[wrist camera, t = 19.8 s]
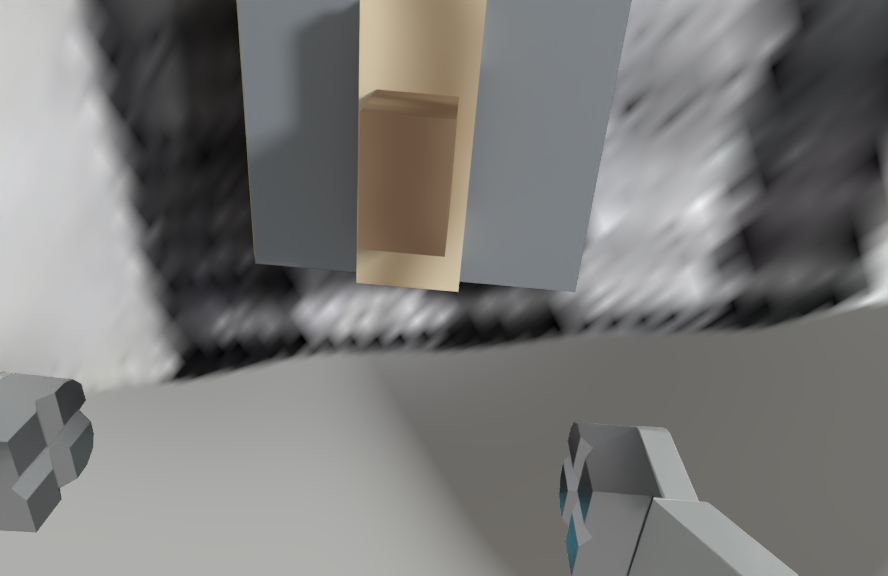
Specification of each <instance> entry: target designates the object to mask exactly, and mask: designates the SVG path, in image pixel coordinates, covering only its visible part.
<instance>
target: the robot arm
mask: <svg viewBox="0 0 888 576" xmlns="http://www.w3.org/2000/svg"><path fill="white" fill-rule="evenodd" d="M85 401H86V399H85V395H84V392H83V389H82V385H81V384H80V383H79V382H77V381H75V380H73V379H64V378H55V377H45V376H36V375H27V374H17V373H14V374H11V373H4V372H0V530H5V531H24V532H37V531H38V530H39V528H40V527H41V526H42V524H43V523H44V522H45V520H46V519H47V518H48V516H49V515H50V514H51V512H52V511H53V510H54V508H55V507H56V506H57V505H58V503H59V502H60V500H61V493H60V488H61V487H62V486H64V485H66V484H68V483H70V482H71V481H73V480H75V479H77V478H78V477H79V475H80V474H81V472H82V471H83V470H84V468H85V467H86V465H87V463H88V461H89V458H90V455H91V452H92V449H93V435H94V433H93V429H92V424H91V421H90V420H89V419H88V418H87V417H86V416H84V414H83V413H82V412H81V411H79V410H80V408H81V407H82V405H83V404H84V402H85ZM568 446H569V451H570V456H569V457H568V458H567V459H565V460H564V461H563V465H562V471H561V476H560V489H559V499H560V510H561V517H562V520H563V521H564V522H565V523H566V524H567V525H568V526H569V528H568V532H567V537H566V548H567V554H568V560H569V566H570V571H571V576H799V575H798V574H796V573H795V572H794V571H793V570H791V569H790V568H789V567H787V566H786V565H785V564H784V563H783V562H781V561H780V560H779V559H778V558H776V557H775V556H774V555H773V554H771V553H770V552H769V551H768V550H766V549H765V548H764V547H763V546H762V545H760V544H759V543H758V542H757V541H755V540H754V539H753V538H752V537H750V536H749V535H748V534H747V533H745V532H744V531H743V530H742V529H740V528H739V527H738V526H737V525H736V524H734V523H733V522H732V521H731V520H729V519H728V518H727V517H726V516H724V515H723V514H722V513H721V512H719V511H718V510H717V509H716V508H714V507H713V506H712V505H711V504H710V503H708V502H699V501H698V498H697V496H696V494H695V491H694V489H693V487H692V484H691V482H690V479H689V477H688V475H687V472H686V470H685V468H684V466H683V463H682V461H681V459H680V456H679V454H678V452H677V449H676V447H675V444H674V442H673V440H672V437H671V435H670V433H669V431H668V430H666V429H665V428H662V427H646V426H645V427H644V426H634V427H631V426H619V425H605V424H594V423H581V422H573V424H572V426H571V428H570V433H569V437H568Z"/></svg>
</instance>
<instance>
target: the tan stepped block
mask: <svg viewBox="0 0 888 576" xmlns="http://www.w3.org/2000/svg"><path fill="white" fill-rule="evenodd" d="M486 2H487V0H360V31H359V109H358V187H357V265H356V283H364V284H375V285H386V286H398V287H409V288H420V289H431V290H442V291H454V292H458V290H459V280H460V270H461V259H462V249H463V239H464V229H465V218H466V208H467V198H468V187H469V177H470V167H471V157H472V146H473V136H474V126H475V115H476V105H477V95H478V85H479V74H480V64H481V54H482V44H483V33H484V23H485V13H486ZM377 89H378V90H389V91H401V92H412V93H424V94H435V95H447V96H458V97H459V108H458V119H457V131H456V143H455V155H454V167H453V178H452V190H451V202H450V214H449V223H448V232H447V241H446V250H445V257H441V256H429V255H418V254H407V253H396V252H385V251H374V250H362V249H358V210H359V140H360V111H361V109H362V108H363V107H364V105H365V104H366V103H367V102H368V100H369V99H370V98H371V97H372V95H373V94H374V93H375V91H376V90H377Z"/></svg>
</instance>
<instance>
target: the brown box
mask: <svg viewBox="0 0 888 576" xmlns="http://www.w3.org/2000/svg"><path fill="white" fill-rule="evenodd" d="M458 108H459V97H458V96H447V95H435V94H424V93H412V92H401V91H389V90H378V89H377V90H376V91H375V93H374V94H373V95H372V97H371V98H370V99H369V100H368V102H367V103H366V104H365V105H364V107H363V108H362V109H361V111H360V140H359V210H358V249H362V250H374V251H385V252H396V253H407V254H418V255H429V256H441V257H445V250H446V241H447V232H448V223H449V214H450V202H451V190H452V178H453V167H454V155H455V143H456V131H457V119H458Z"/></svg>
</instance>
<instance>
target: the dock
mask: <svg viewBox="0 0 888 576" xmlns="http://www.w3.org/2000/svg"><path fill="white" fill-rule="evenodd" d="M236 1H237V15H238V30H239V44H240V58H241V73H242V87H243V101H244V116H245V130H246V145H247V159H248V173H249V188H250V202H251V217H252V231H253V245H254V256H255V263H257V264H268V265H279V266H290V267H302V268H313V269H324V270H335V271H346V272H356V265H357V187H358V109H359V31H360V0H236ZM631 1H632V0H487V2H486V13H485V23H484V33H483V44H482V54H481V64H480V74H479V85H478V95H477V105H476V115H475V126H474V136H473V146H472V157H471V167H470V177H469V187H468V198H467V208H466V218H465V229H464V239H463V249H462V259H461V270H460V280H459V282H470V283H481V284H492V285H503V286H515V287H526V288H537V289H548V290H560V291H571V292H575V290H576V285H577V280H578V274H579V269H580V264H581V259H582V254H583V249H584V243H585V238H586V233H587V228H588V223H589V218H590V212H591V207H592V202H593V197H594V192H595V187H596V182H597V176H598V171H599V166H600V161H601V156H602V151H603V145H604V140H605V135H606V130H607V125H608V120H609V114H610V109H611V104H612V99H613V94H614V89H615V83H616V78H617V73H618V68H619V63H620V58H621V52H622V47H623V42H624V37H625V32H626V27H627V22H628V16H629V11H630V6H631Z"/></svg>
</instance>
